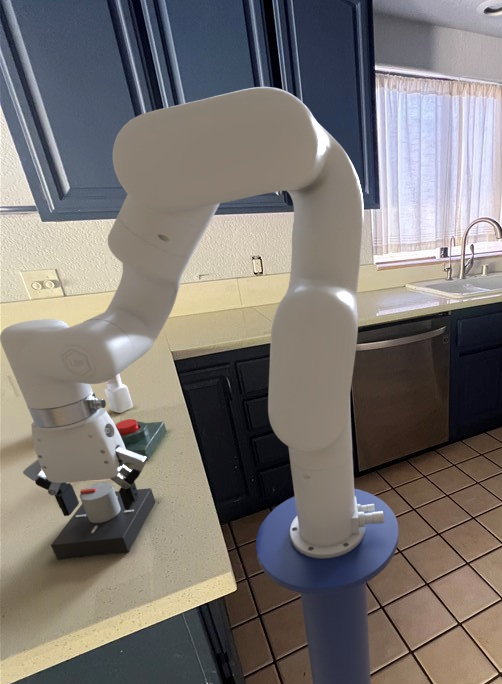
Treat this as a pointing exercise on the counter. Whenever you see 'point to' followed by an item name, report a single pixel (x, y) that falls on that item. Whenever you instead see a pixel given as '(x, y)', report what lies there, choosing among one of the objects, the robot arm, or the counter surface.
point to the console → (145, 438)
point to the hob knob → (100, 502)
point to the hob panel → (103, 530)
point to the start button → (127, 426)
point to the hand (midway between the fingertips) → (102, 506)
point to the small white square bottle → (118, 395)
